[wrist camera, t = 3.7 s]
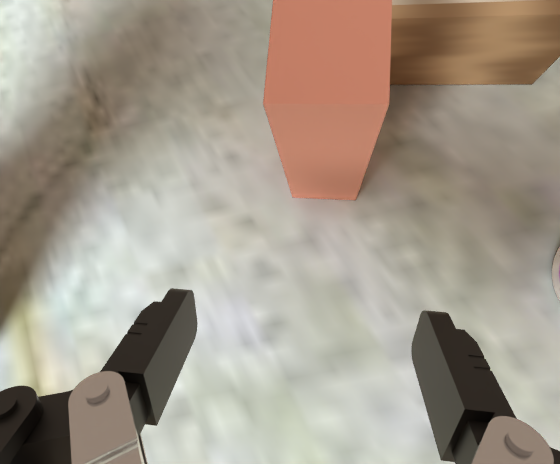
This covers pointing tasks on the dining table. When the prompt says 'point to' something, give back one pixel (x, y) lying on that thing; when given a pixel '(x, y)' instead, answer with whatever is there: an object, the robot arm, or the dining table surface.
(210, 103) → the dining table surface
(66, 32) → the dining table surface
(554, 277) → the supplement bottle
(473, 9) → the box
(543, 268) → the dining table surface
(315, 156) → the peg
